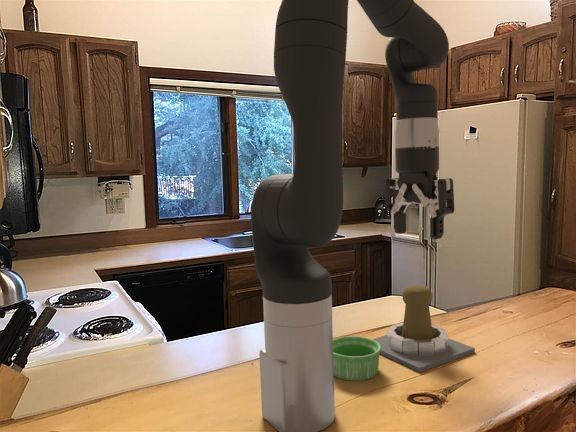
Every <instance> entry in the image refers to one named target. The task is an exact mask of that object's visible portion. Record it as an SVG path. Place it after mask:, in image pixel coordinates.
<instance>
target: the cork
mask: <svg viewBox="0 0 576 432" xmlns="http://www.w3.org/2000/svg"><path fill="white" fill-rule="evenodd" d="M402 301H403V303H404V304H405V306H404V313H403V314H404V315H403V322H402V323H403V330H402V337H404V338H407V339H414V340H431V339H433V332H432V319H431V312H430V304H432V301H433V294H432V291H431V289H430V288H429V287H428V286H425V285H418V284H416V285H415V284H413V285H408V286H405V288H403V291H402Z"/></svg>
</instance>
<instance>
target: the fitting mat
mask: <svg viewBox="0 0 576 432" xmlns="http://www.w3.org/2000/svg"><path fill="white" fill-rule="evenodd" d="M371 339H372V340H375V341H376V342H378V343H379V344H380V346H381V351H380V354H379V355H381V356H383V357H386V358H387V359H389V360H391V359H392V360H391V361H393V362H396V363H397V364H399V365H403V366H405V367H407V368H408V369H410V370H413V371H414V372H417V373H418V374H419V373H422V372H425V371H428V370H430V369H433V368H436V367H438V366H442V365H444V364H447V363H449V362H452V361H455V360H458V359H461V358H464V357H466V356H468V355H472V354H475V353H476V352H475V351H476V350H475V349H476V348H475V347H473V346H470V345H467V344H466V343H465V344H464V343H463V342H459V341H456V340H454V339H451V338H449V337H448V348H447V350H446V352H445V353H442V354H439V355H436V356H425V357H419V356H418V357H417V356H410V355H404V354H401V353H399V352H396V351H394V350H392V349H391V348H390V347H389V345H388V344H387V334H386V335H382V336H378V337H376V338H371Z"/></svg>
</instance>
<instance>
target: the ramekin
mask: <svg viewBox="0 0 576 432" xmlns="http://www.w3.org/2000/svg"><path fill="white" fill-rule="evenodd" d="M372 339H373V338H370V337H365V336H358V335H357V336H356V335H352V336H351V335H350V336H349V335H348V336H347V335H346V336H340V337H335V338H333V361H334V377H337V379H341V380H344V381H349V380H351V382H357V381H358V382H360V381H359V380H361V381H366V379H367V380H369V378H370V379H371V378H373V377H375V376H376V375H377V373H379V372H378V371H379V365H380V364H379V363H380V361H379V359H380V355H381V354H380V351H381V346H380V344H379V343H378V342H376V341H375V340H372ZM352 380H353V381H352Z"/></svg>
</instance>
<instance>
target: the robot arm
mask: <svg viewBox="0 0 576 432" xmlns="http://www.w3.org/2000/svg"><path fill="white" fill-rule="evenodd" d="M356 1H357V3H358V4H359V6H360V7H361V9H362V10H363V12H364V13H365V15H366V16H367V18H368V20H369V21H370V22H371V24H372V25H373V27H374V28H375V30H377V32H378V33H379V34H380V35H381V36H383V37H386V38H389V39H388V41H387V43H386V46H385V51H384V56H385V63H386V65H387V70H388V73H389V76H390V80H391V83H392V88H393V92H394V96H395V105H396V107H395V111H396V112H395V113H396V116H395V117H396V119H395V120H396V121H395V130H394V131H395V132H394V152H395V155H394V156H395V157H394V158H395V159H394V160H395V162H394V163H395V165H394V166H395V172H396V173H397V174H398V177H388V178H386V179H385V185H384V186H385V188H384V190H385V191H384V192H385V193H384V208H385V209H386V210H389V211H390V212H391V213H392V214H393V229H394V233H395V234H398V235H401V234H406V232H407V213H405V212H406V211H407V209H408V207H409V206H410V205H411V204H412V203H416V204H421V205H422V206H423V207H424V208H426V210H427V211H428V213H429V214H430V218H429V237H430V239H432V240H440V239H442V237H443V236H444V233H445V231H444V229H445V224H444V223H445V221H444V219H445V216H447V215H452V214H454V212H455V193H454V192H455V191H454V180H453V178H448V177H447V178H438V176H437V173H438V172H439V169H440V128H439V122H438V121H439V120H438V117H439V116H438V115H439V114H438V91H437V87H436V86H435V85H433V84H430V83H422V82H420V83H419V82H416V80H415V79H414V76H413V73H414V72H419V71H424V70H430V69H435V68H437V67H440V66H441V65H442V64H443V63H444V62H445V61H446V59H447V58H448V54H449V50H450V44H449V43H450V42H449V38H448V36H447V33H446V32H445V30H444V28H443V27H442V25H441V24H440V23H439V22H438V21H437V20H436V19H434V18H433V17H432V15H430V14H429V13H428V12H427V11H425V9H423V8H422V7H421V6H420V5H419V4H418V3H416V2H415V0H356ZM348 11H349V0H282V1H281V3H280V6H279V7H278V10H277V15H276V20H275V28H274V29H275V30H274V31H275V32H274V45H273V47H274V48H273V72H274V77H275V81H276V85H277V87H278V89H279V91H280V94H281V96H282V100H283V101H284V104H285V106H286V108H287V110H288V111H287V112H288V113H289V116H290V118H291V121H292V125H293V129H294V130H293V131H294V142H295V146H294V147H295V148H294V166H293V171H292V172H293V173H280V174H272V175H269V176H267V177H266V178H264V179H263V180H261V182H259V184H258V186H257V188H256V189H255V191H254V193H253V196H252V199H251V200H252V201H251V208H250V209H251V211H250V218H251V219H250V221H251V223H250V224H251V235H252V246H253V256H254V265H255V272H256V275H257V277H258V279H259V281H260V284H261V288H262V303H263V305H262V306H263V309H262V310H263V327H264V328H263V329H264V330H263V332H264V348H263V349H260V350H259V374H260V375H259V376H260V377H259V378H260V397H261V398H260V399H261V416H262V418H263V419H265V420H266V421H267V422H268V423H269V424H270V425H271V426H272V427H273V428H274V429H275V430H276V431H278V432H320V431H323V430H325V429H326V428H328V427H329V426H331V425H332V424H333V422H334V420H335V418H336V407H335V406H336V405H335V403H336V401H335V399H336V397H335V376H334V361H333V339H334V335H333V332H334V331H333V298H332V297H333V295H332V293H333V290H332V287H333V286H332V284H333V283H332V276H331V274H330V272H329V270H327V269H326V268H325V267H323V266H322V265H321V264H320V263H319V262H318V261H316V259H315V258H314V257H313V256H312V254H311V252H310V249H309V248H321V247H323V246H326V245H328V244H329V243H330V242H331V241H332V240H333V239H334V238H335V236H336V235H337V233H338V230H339V228H340V225H341V221H342V217H343V211H344V210H343V209H344V177H343V176H344V175H343V152H342V151H343V150H342V147H343V146H342V145H343V144H342V140H343V139H342V130H343V129H342V125H343V123H342V122H343V96H344V80H345V71H346V70H345V68H346V61H347V60H346V58H347V43H348V19H349V18H348V13H349V12H348Z"/></svg>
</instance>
